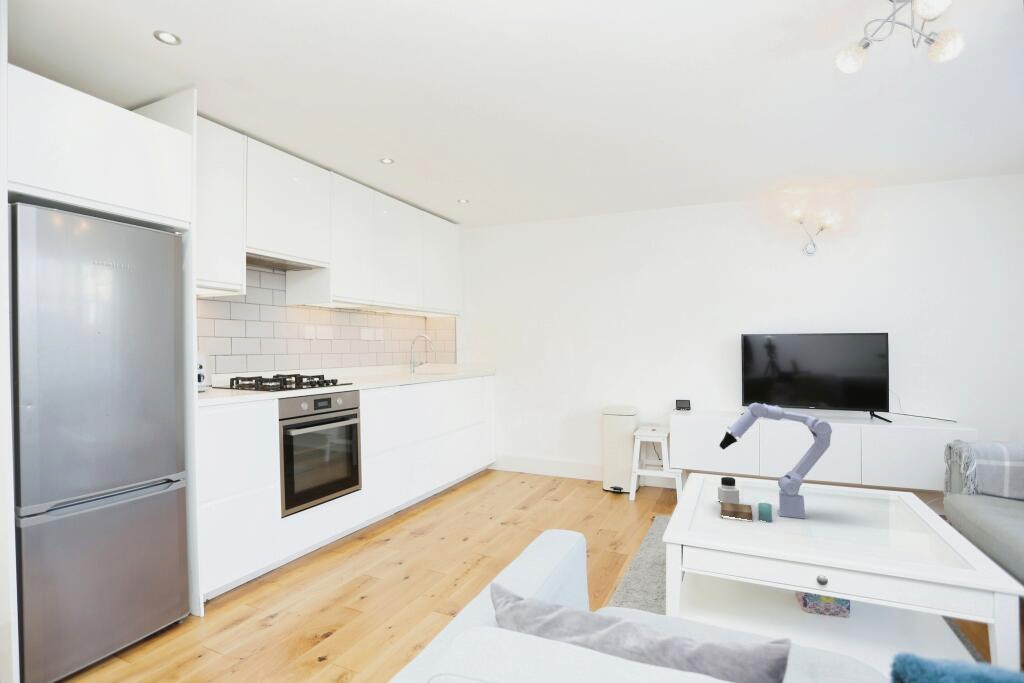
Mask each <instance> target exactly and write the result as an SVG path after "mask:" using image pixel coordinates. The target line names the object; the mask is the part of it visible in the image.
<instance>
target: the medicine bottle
mask: <svg viewBox="0 0 1024 683" xmlns="http://www.w3.org/2000/svg"><path fill="white" fill-rule="evenodd" d="M720 479H721V482H720V485H719V486H717V500H718V499H719V500H720V501H722V502H723V503H734V504H740V490H739V489H738V488H737V487H736V479H735V478H734V477H732V476H722V477H721V478H720Z"/></svg>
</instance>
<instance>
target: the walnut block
mask: <svg viewBox="0 0 1024 683" xmlns="http://www.w3.org/2000/svg"><path fill="white" fill-rule="evenodd" d="M721 515H723V516H729V517H735V518H741V519H747V520H752V521H753V510H752V505H751V504H743V503H742V504H741V503H739V504H734V503H723V502H721V503H720V516H721Z"/></svg>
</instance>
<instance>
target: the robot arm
mask: <svg viewBox="0 0 1024 683" xmlns="http://www.w3.org/2000/svg"><path fill="white" fill-rule="evenodd" d="M759 418H763V419H767V420H768V419H769V420H772V421H773V420H774V421H781V420H783V419H784V420H788V421H789V420H790V421H795V422H798V423H802V424H803V425H804V426H806V427H807V428H808V430H809V432H810V433H811V434H812V437H813V441H814V443H813V444H812V445H811V446H810V447H809V449H808V450H807V451H806V452H805V454H803V456H802V457H801V459H799V461H798V462H797V463H796V464H795V466H794V467H793V468H792V470H790V471H788V472H786V474H785V475H782V476H781V477H780V478H778V481H777V484H778V487H779V489H780V490H779V492H778V495H779V497H778V498H779V509H778V510H777V512H778V516H779V517H787V518H794V519H796V518H797V519H805V518H806V515H805V514H806V513H805V512H806V511H805V497H804V495H802V494H799V492H800V490H801V489H800V488H801V486H802V485H803V482H804V481H803V480H804V478H805V477H806V476H807V474H808V473H809V472H810V470H812V468H814V466H815V464H816V463H817V462H818V461H819V460H820V459H821V457H822V456H823V455H824V454H825V452H826V451H827V450H828V448H830V446H831V437H832V434H833V429H832V426H831V424H830V423H829V422H828V421H826V420H822V419H820V418H817V417H814V416H811V415H809V414H803V413H797V412H791V411H785V410H784V409H783V408H782V407H781V406H780V407H779V405H777V404H776V405H770V404H766V403H765V402H764V403H763V404H762V403H758V402H754V403H753V402H752V403H751V404H749V405H748V408H747V410H746V411H745V412H744V413H743V414H742V415H741V416H740V417H739V418H738V419H737V420H736V421H734V423H733V424H732V426H728V425H727V429H728V430H729V431H730V432H728V431H725V434H724V437H723V438H722V440H721V441H720V443H719V445H718V446H719V447H720V449H722V450H723V451H724V450H725V449H727V448H728V447H729V446H731V445H733V444H735V443H737V442H738V439H737V437H738V438H739V439H741V438H742V436H743V435H744V434H745V433H747V431H748V430H749V429H751V427H752V426H753V425H754V424H755V422H757V420H758V419H759Z"/></svg>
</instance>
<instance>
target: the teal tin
mask: <svg viewBox="0 0 1024 683" xmlns="http://www.w3.org/2000/svg"><path fill="white" fill-rule="evenodd" d="M772 506H773V505H772V504H770V503H767V502H760V503H758V509H757V510H758V521H760V520H762V521H766V522H765V523H772V522H773V509H772V508H773V507H772ZM762 521H761V522H762Z"/></svg>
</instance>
